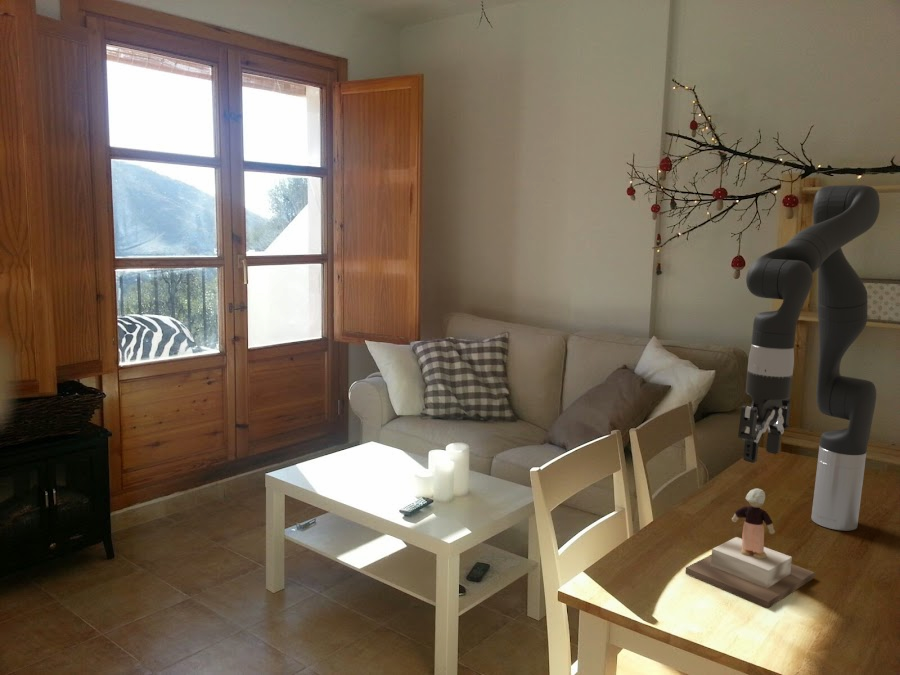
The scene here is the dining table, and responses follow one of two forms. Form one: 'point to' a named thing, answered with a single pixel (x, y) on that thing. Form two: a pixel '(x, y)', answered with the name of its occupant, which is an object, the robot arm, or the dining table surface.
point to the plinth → (748, 586)
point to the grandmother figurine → (754, 524)
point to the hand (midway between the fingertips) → (761, 457)
